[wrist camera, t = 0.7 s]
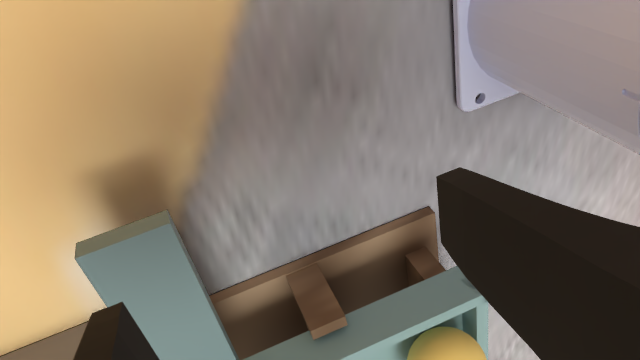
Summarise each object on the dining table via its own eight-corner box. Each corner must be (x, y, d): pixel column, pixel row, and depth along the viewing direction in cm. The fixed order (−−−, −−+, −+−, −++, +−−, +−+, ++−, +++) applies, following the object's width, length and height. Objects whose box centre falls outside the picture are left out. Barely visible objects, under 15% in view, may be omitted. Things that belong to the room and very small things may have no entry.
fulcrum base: (428, 206, 25) (477, 256, 22) (437, 307, 30) (479, 362, 27) (150, 319, 23) (157, 396, 19) (206, 411, 27) (219, 486, 24)
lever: (455, 103, 18) (488, 124, 17) (464, 341, 27) (487, 371, 25) (76, 243, 16) (72, 284, 14) (216, 458, 24) (224, 500, 23)
